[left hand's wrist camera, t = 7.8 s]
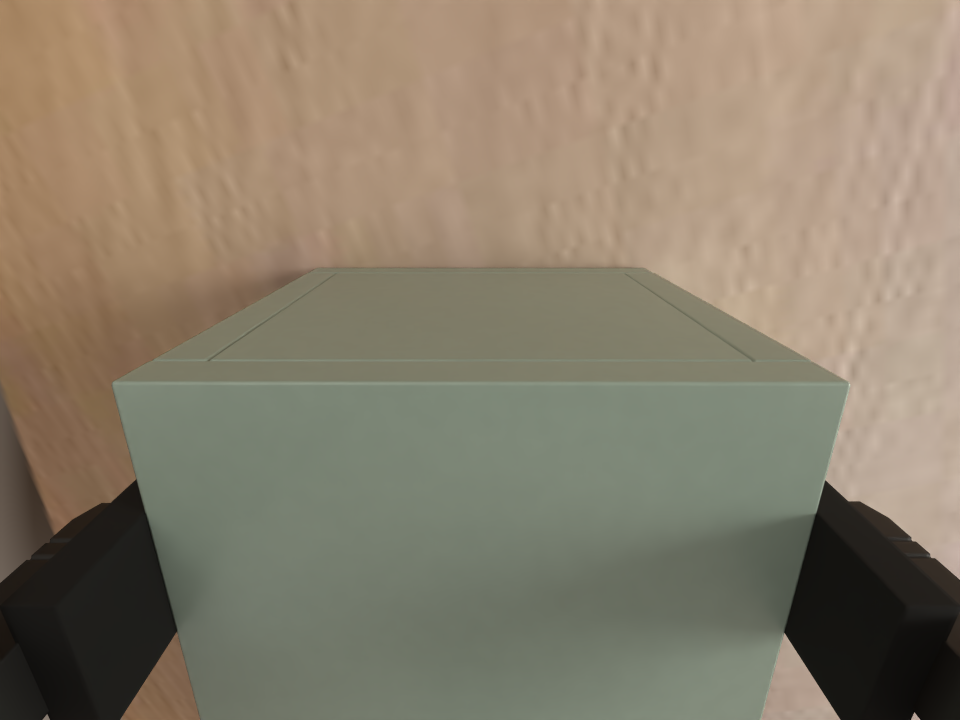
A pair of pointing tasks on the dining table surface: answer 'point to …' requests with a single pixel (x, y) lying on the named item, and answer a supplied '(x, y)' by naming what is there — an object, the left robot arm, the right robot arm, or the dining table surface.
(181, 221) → the dining table surface
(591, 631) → the sage green box
